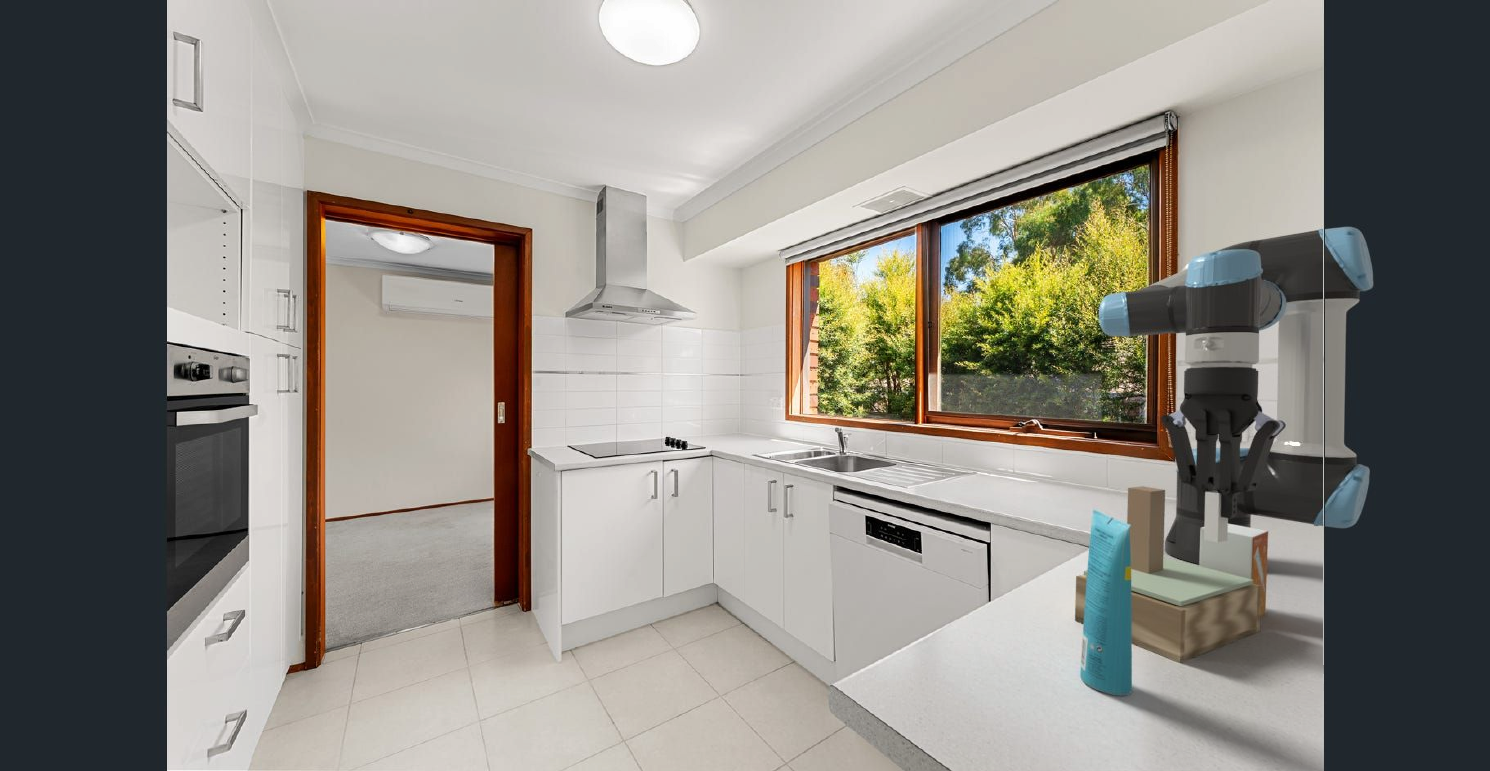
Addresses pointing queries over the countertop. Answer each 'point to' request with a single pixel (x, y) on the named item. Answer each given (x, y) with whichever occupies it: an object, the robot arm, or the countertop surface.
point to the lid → (1162, 573)
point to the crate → (1187, 621)
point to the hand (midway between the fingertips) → (1215, 539)
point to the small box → (1239, 556)
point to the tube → (1108, 608)
